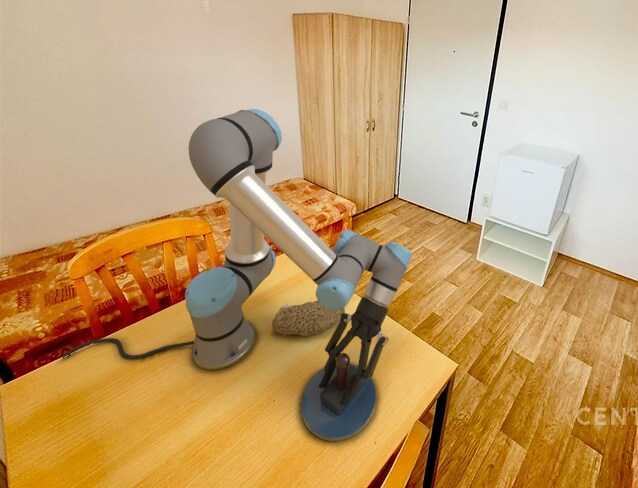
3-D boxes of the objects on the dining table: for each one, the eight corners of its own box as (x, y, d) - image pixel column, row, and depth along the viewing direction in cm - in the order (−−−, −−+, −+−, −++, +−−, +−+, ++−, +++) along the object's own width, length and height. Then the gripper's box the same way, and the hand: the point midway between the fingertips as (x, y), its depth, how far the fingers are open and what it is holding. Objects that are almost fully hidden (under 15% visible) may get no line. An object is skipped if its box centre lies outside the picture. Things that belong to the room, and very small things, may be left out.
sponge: (272, 343, 93) (338, 341, 90) (266, 320, 91) (333, 317, 88) (291, 314, 105) (349, 312, 103) (286, 294, 104) (345, 290, 101)
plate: (291, 439, 71) (291, 436, 70) (313, 363, 87) (312, 360, 86) (372, 443, 71) (372, 440, 70) (378, 367, 87) (378, 365, 86)
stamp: (338, 415, 74) (338, 380, 68) (320, 400, 77) (317, 366, 71) (365, 380, 82) (366, 347, 76) (347, 368, 84) (347, 335, 79)
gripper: (412, 319, 80) (371, 415, 74) (353, 287, 88) (312, 371, 83) (402, 318, 73) (357, 423, 68) (340, 283, 82) (295, 374, 76)
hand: (333, 394), depth 75 cm, fingers closed on stamp, 6 cm apart
